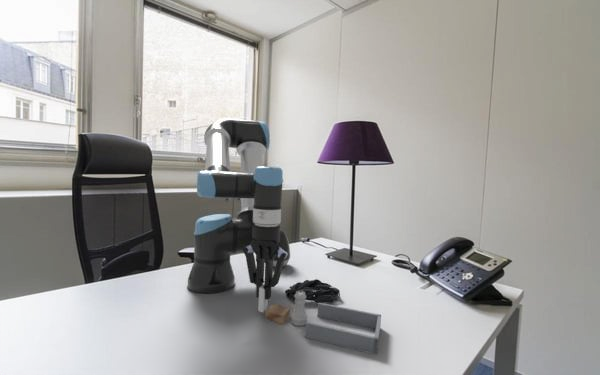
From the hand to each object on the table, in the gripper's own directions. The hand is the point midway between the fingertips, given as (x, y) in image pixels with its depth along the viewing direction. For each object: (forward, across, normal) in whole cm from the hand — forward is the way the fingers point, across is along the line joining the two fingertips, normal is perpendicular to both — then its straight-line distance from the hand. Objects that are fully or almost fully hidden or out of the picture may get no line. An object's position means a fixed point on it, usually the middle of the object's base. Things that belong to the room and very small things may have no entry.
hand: (262, 309), depth 80 cm
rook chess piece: (+2, +10, 0) cm, 11 cm away
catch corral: (+2, +22, 0) cm, 22 cm away
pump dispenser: (+1, -13, +39) cm, 41 cm away
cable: (+2, +8, +18) cm, 20 cm away
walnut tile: (+2, +4, 0) cm, 5 cm away
